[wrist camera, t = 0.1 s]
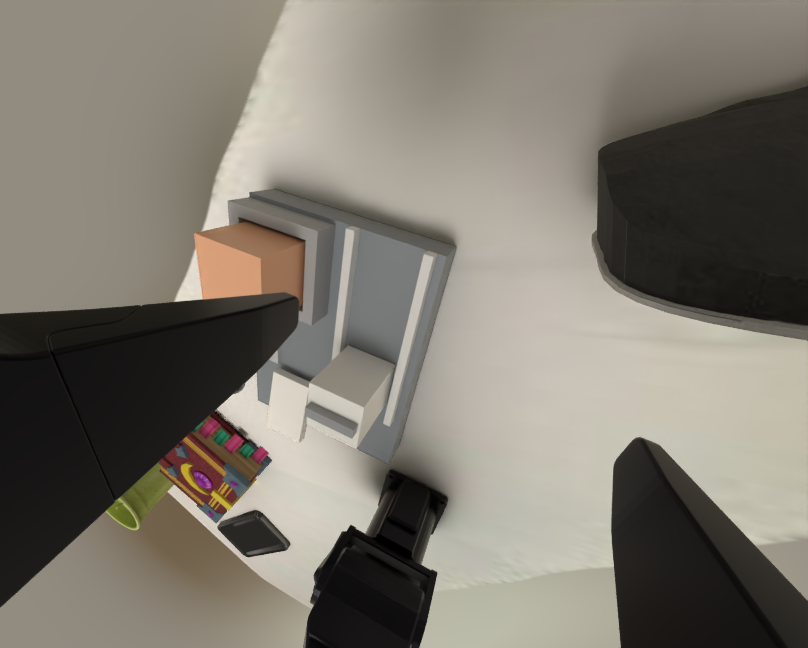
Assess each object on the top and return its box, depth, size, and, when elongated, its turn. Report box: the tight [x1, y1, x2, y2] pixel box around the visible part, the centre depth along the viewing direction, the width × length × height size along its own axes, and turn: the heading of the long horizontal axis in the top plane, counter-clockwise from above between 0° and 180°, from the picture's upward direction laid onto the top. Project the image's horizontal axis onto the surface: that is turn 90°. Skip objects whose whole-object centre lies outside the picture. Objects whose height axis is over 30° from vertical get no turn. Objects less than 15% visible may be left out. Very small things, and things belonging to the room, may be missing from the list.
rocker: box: [266, 368, 309, 443], centre depth 30 cm, size 6×4×1 cm, turn 168°
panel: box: [228, 189, 456, 464], centre depth 27 cm, size 20×14×4 cm
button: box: [194, 221, 306, 307], centre depth 21 cm, size 5×5×4 cm
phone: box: [218, 510, 290, 557], centre depth 54 cm, size 8×1×15 cm
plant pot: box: [106, 462, 174, 530], centre depth 50 cm, size 9×9×9 cm
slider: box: [305, 345, 395, 449], centre depth 24 cm, size 4×4×6 cm
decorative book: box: [159, 412, 272, 523], centre depth 44 cm, size 11×16×5 cm
